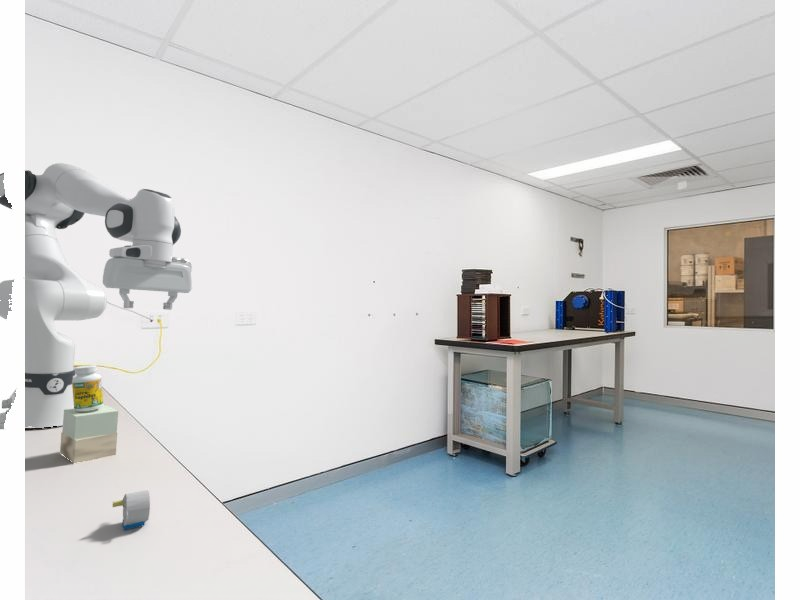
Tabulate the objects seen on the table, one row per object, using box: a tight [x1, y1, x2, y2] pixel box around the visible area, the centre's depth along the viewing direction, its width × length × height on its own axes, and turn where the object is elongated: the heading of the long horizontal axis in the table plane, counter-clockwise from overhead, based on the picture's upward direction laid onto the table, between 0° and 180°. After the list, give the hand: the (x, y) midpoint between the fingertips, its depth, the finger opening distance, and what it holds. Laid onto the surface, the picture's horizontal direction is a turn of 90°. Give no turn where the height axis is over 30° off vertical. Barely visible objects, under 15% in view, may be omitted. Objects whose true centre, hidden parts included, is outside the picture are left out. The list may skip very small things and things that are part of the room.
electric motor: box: [112, 490, 151, 531], centre depth 69 cm, size 7×5×5 cm
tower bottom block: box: [59, 432, 118, 464], centre depth 97 cm, size 8×8×5 cm
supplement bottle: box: [72, 364, 104, 412], centre depth 97 cm, size 5×5×10 cm
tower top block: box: [61, 404, 119, 440], centre depth 98 cm, size 8×8×5 cm
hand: (148, 308), depth 109 cm, fingers open, 8 cm apart
